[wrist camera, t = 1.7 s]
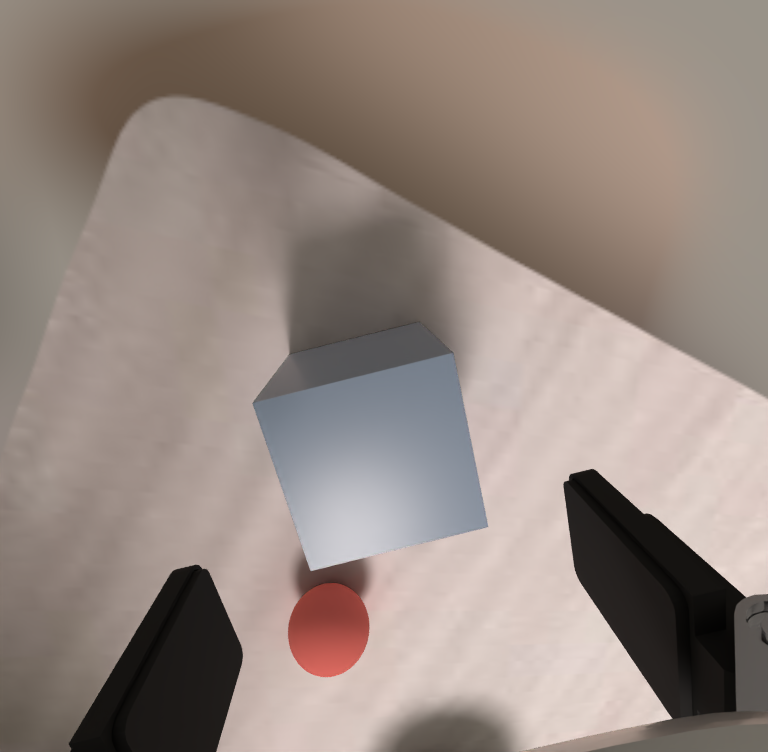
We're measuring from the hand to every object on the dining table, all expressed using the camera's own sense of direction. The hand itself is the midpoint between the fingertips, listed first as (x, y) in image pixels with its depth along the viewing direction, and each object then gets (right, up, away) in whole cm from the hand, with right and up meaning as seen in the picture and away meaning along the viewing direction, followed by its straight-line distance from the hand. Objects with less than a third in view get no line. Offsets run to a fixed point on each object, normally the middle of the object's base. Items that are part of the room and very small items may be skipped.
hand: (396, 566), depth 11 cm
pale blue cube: (-1, +3, +14) cm, 15 cm away
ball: (-4, -11, +15) cm, 19 cm away
